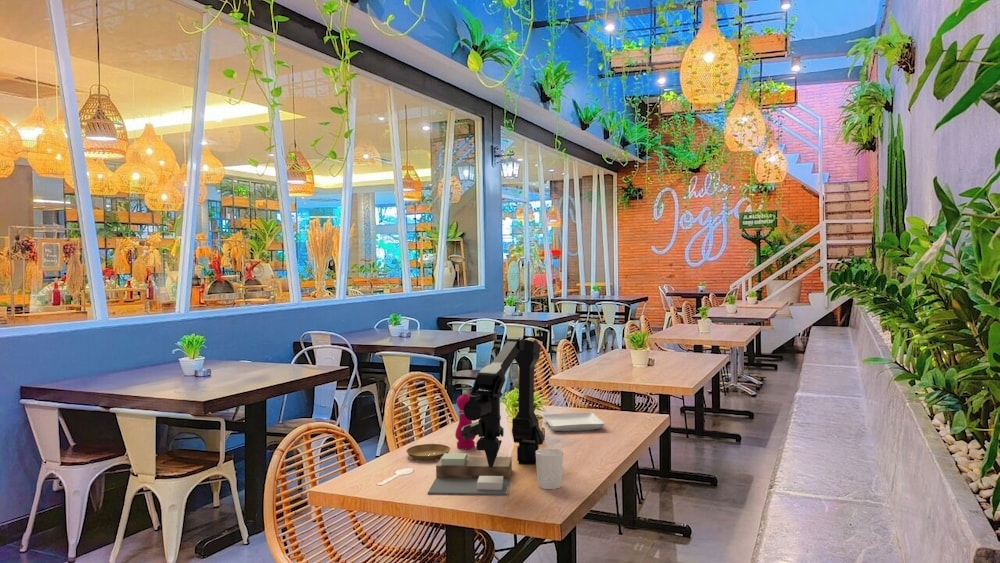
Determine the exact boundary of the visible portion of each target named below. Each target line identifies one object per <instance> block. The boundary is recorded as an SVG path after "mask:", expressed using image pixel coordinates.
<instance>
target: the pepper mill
mask: <svg viewBox="0 0 1000 563" xmlns="http://www.w3.org/2000/svg"><path fill="white" fill-rule="evenodd" d="M470 396H471V394H470V395H469V394H468V390H465V389H464V390H463V391H462V394H461V395H459V396H458V397H457V399H456V406H457V407H458V409H457V410H458V412H457V413H458V414H459V420H458V421H459V422H458V424H457V427H456V430H455V435H454V436H455V438H456V440H457V442H456V448H457V449H460V450H471V449H474V448H475V446H476V445H475V438H476V436H477V435H476V436H474V437H471V438H469V439H467V440H464V437H463V436H462V432H461V429H462V427H464V426H466V425H468V424H472V423H473V421H471V420H469V419H467V418H466V416H465V415H464V411H463V408H464V406H465V404H466V402H468V401H470V399H469V397H470Z"/></svg>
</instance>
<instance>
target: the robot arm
mask: <svg viewBox="0 0 1000 563" xmlns="http://www.w3.org/2000/svg"><path fill="white" fill-rule="evenodd" d="M541 350H542V346H541V344H540V343H539V342H538V340H537V339H525V338H522V337H512V336H511V337H507V338H506V340H505V343H504V346H502V348H501V350H500V351H498V352H499V353H497V355H496V357H495V358H494V359H493V360H492V362H491V363H490V364H488V365H486V366H484V367H483V368H481V370H479V372H478V373H477V374H476V377H475V379H474V382H473V386H472V388H471V392H470V397H469V399H470V401H468V402H466V404H465V406H464V408H463V411H464V415H465V416H466V418H467V419H469V420H471V421H472V424H468V425H466V426H464V427H462V429H461V432H462V436H463V437H464V440H467V439H469V438H471V437H474V436H478V438H479V439H478V440H476V445H475V446H476V448H475V449H476V451H484V453H485V457H487V461H488V465H489V467H493V465H494V462H495V459H496V457H498V453H499V450H500V448H501V445H502V441H503V440H501V439H499V438H500V437H501V438H502V437H504V436H505V435H504V430H505V429H504V427H502V426H501V418H502V417H501V400H500V399H501V397H503V396H504V394H503V392H502V391H501V390H502V388H503V387H504V385H505V382H506V376H505V375H506V373H507V371H508V370H509V368H510V367H511V365H512V364H513V362H514V360H515V362H516V364H517V365H518V413H516V415H515V417H512V420H511V421H512V422H511V423H512V424H511V425H512V426H511V433H512V438H513V443H515V444H518V445H517V446H516V447H517V448H516V452H517V453H516V455H517V456H516V457H517V462H518V464H519V465H521V464H522V465H536V450H538V449H540V448H539V445H540V446H541V445H543V443H544V440H545V435H544V433H543V432H542V430H541V428H540V426H539V425H540V424H539V422H540V421H539V419H538V417H537V415H536V414H535V410H534V407H535V406H534V404H535V403H534V402H535V401H534V400H535V398H534V396H535V395H534V394H535V393H534V392H535V366H536V364H538V361H539V360H540V354H541ZM477 420H478V421H477Z"/></svg>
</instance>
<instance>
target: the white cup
mask: <svg viewBox="0 0 1000 563" xmlns="http://www.w3.org/2000/svg"><path fill="white" fill-rule="evenodd" d="M563 455H564V452H563V450H561V449H559V448H554V447H544V448H539V449H538V450H536V464H535V465H536V466H535V468H536V476H537V487H538V486H539V487H538V488H539V489H542V488H543V489H542V490H548V489H552V490H557V489H556V488H558V489H559V487H560V488H561V487H562V479H563V462H564V461H563V460H564V458H563V457H564V456H563Z"/></svg>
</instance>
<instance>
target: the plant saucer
mask: <svg viewBox="0 0 1000 563" xmlns="http://www.w3.org/2000/svg"><path fill="white" fill-rule="evenodd" d="M450 451H451V447H450V446H448V445H446V444H441V443H440V444H439V443H424V444H422V443H421V444H416V445H412V446H410V447H408V448H407V449H406V454H407V455H408V456H409V457H410V458H411V459H413V460H415V461H418V462H434V461H439V460H440V459H441V457H442V456H443V455H444V453H450ZM433 453H435V454H433ZM429 454H430V455H429ZM428 455H429V456H428Z"/></svg>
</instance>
